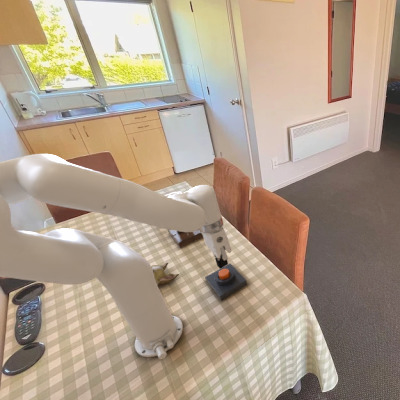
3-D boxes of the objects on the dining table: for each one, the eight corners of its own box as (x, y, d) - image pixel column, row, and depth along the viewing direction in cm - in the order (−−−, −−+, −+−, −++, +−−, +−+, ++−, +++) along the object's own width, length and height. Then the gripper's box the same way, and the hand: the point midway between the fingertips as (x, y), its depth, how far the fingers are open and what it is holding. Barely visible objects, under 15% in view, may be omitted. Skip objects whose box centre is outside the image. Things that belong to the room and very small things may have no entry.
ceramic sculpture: (117, 271, 90) (163, 250, 100) (125, 289, 94) (168, 267, 105) (128, 287, 84) (176, 263, 95) (137, 305, 88) (181, 280, 99)
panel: (203, 237, 120) (201, 232, 118) (180, 248, 114) (178, 242, 112) (191, 224, 128) (189, 219, 127) (169, 233, 122) (167, 228, 121)
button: (231, 275, 95) (230, 272, 94) (222, 281, 93) (221, 277, 92) (226, 270, 97) (226, 267, 96) (217, 275, 95) (216, 272, 94)
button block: (247, 284, 96) (245, 276, 94) (221, 300, 90) (218, 292, 88) (231, 267, 103) (229, 259, 101) (206, 281, 97) (203, 273, 95)
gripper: (232, 228, 81) (243, 270, 90) (211, 209, 90) (222, 249, 99) (209, 239, 76) (222, 283, 86) (188, 218, 85) (203, 260, 95)
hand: (222, 265), depth 93 cm, fingers closed
